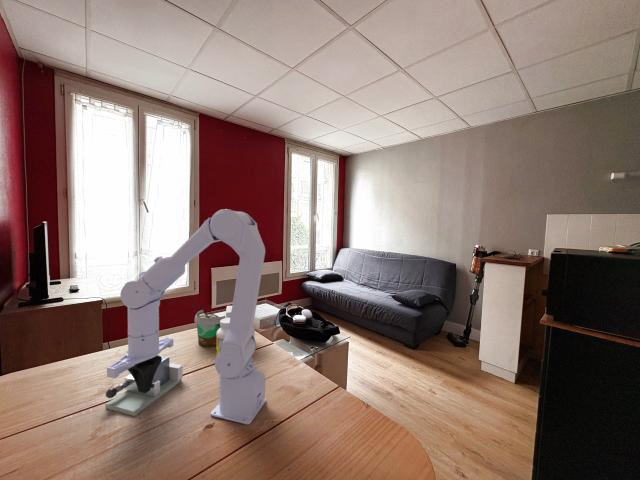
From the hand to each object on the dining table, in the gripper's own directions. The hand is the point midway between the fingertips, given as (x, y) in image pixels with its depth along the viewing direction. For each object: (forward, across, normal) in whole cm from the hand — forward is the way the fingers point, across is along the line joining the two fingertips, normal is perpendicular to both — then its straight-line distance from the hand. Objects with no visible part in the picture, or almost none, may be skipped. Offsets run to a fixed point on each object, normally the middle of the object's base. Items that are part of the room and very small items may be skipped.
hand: (144, 390), depth 58 cm
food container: (+3, -29, -6) cm, 30 cm away
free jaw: (+2, +1, -3) cm, 3 cm away
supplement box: (+3, -32, +4) cm, 32 cm away
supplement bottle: (+3, -21, +8) cm, 22 cm away
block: (+2, -5, -2) cm, 6 cm away
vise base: (+3, -3, -2) cm, 5 cm away
